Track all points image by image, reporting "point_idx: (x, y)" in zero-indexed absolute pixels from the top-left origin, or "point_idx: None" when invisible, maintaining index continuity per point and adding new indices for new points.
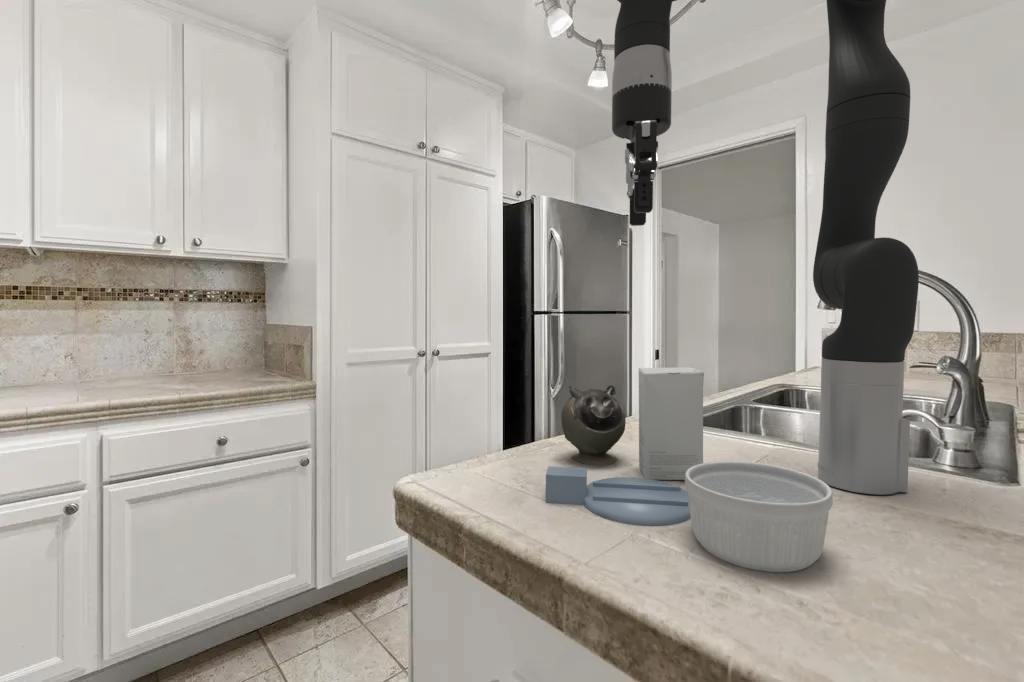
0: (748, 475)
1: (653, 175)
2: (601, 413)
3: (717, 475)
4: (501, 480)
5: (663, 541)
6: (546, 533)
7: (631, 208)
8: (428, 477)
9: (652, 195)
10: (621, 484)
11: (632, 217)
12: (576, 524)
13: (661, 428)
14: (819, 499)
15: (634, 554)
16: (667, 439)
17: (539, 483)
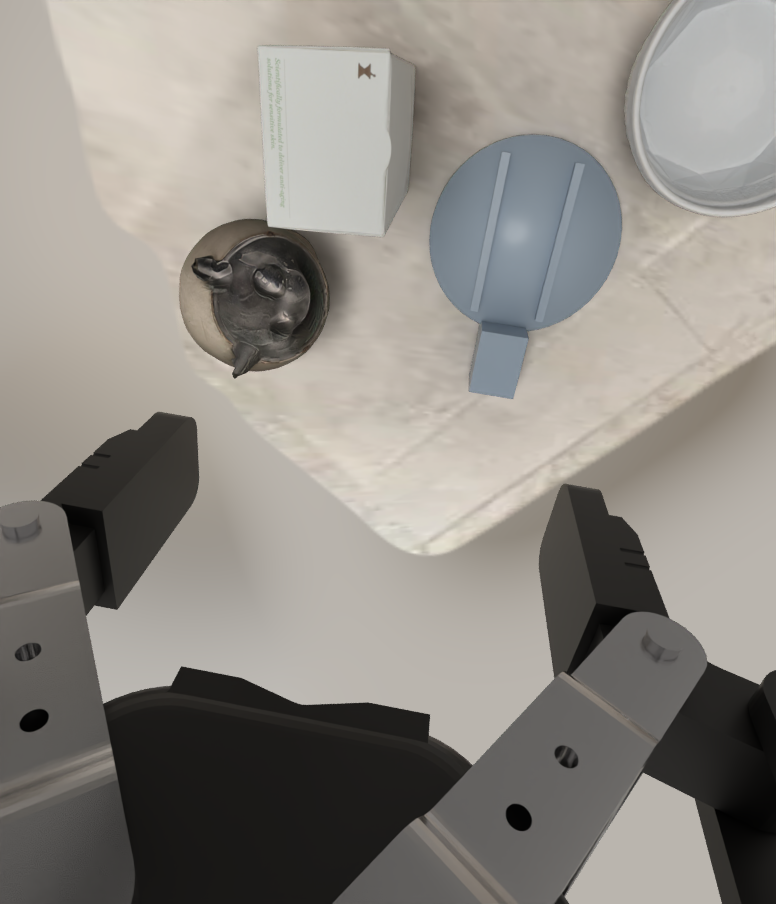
0: (654, 52)
1: (691, 645)
2: (302, 295)
3: (640, 122)
4: (413, 439)
5: (672, 235)
6: (619, 388)
7: (154, 550)
8: (402, 532)
9: (617, 541)
10: (487, 263)
11: (178, 506)
12: (596, 347)
13: (403, 173)
14: None
15: (701, 286)
16: (406, 156)
17: (427, 384)
